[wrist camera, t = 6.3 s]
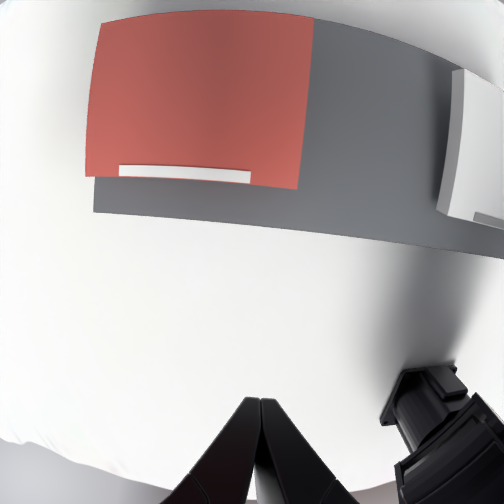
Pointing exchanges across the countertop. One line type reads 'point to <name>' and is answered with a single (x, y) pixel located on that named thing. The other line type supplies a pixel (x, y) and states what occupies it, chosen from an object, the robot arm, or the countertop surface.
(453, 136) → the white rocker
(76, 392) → the countertop surface
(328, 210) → the switch box
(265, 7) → the countertop surface
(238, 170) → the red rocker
